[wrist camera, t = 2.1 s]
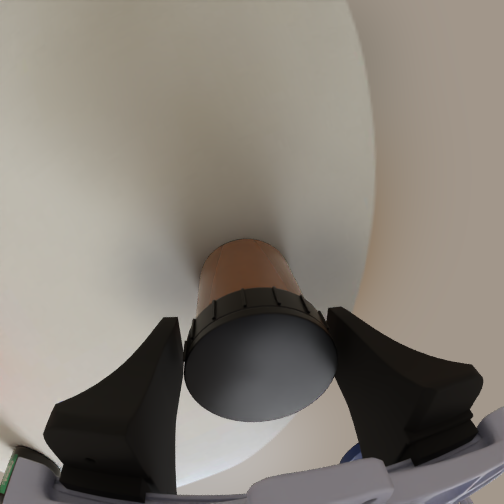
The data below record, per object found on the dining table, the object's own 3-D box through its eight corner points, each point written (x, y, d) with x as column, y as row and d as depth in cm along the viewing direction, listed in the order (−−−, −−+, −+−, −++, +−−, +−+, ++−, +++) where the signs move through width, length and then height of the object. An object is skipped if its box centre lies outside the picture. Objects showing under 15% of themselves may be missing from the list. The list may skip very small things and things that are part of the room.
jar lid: (317, 386, 13) (326, 413, 12) (194, 396, 13) (193, 425, 11) (334, 280, 11) (350, 305, 9) (177, 288, 11) (171, 316, 9)
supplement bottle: (6, 439, 22) (-21, 511, 11) (48, 453, 23) (25, 535, 12) (29, 466, 25) (9, 532, 14) (69, 479, 26) (54, 551, 15)
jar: (287, 316, 18) (318, 402, 12) (203, 321, 18) (200, 412, 11) (291, 236, 16) (336, 305, 10) (196, 240, 16) (183, 315, 10)
